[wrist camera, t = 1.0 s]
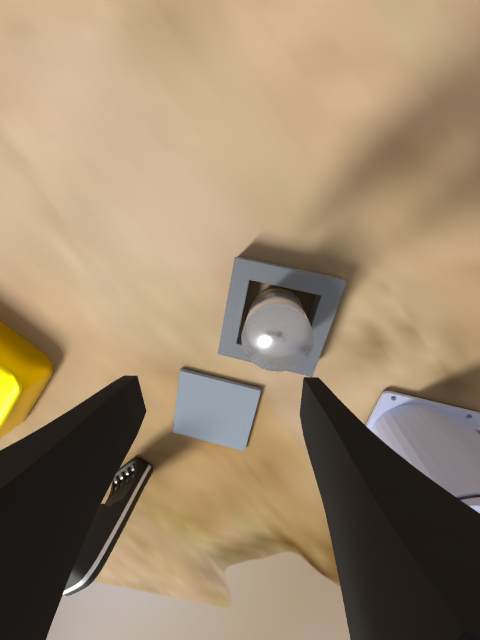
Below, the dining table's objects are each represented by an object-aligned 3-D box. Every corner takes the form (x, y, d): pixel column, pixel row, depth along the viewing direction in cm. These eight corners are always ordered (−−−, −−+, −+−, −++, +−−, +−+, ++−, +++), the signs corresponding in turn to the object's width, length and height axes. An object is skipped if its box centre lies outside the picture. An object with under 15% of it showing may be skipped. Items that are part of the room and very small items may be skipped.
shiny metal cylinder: (309, 294, 20) (323, 315, 15) (294, 343, 22) (301, 378, 16) (255, 282, 21) (249, 298, 15) (245, 331, 22) (235, 362, 17)
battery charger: (135, 449, 30) (60, 563, 20) (156, 466, 31) (95, 586, 20) (108, 470, 33) (28, 582, 22) (128, 486, 33) (60, 603, 22)
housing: (339, 277, 19) (347, 281, 17) (309, 365, 23) (312, 376, 21) (238, 255, 20) (234, 257, 18) (222, 344, 23) (217, 354, 21)
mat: (261, 388, 24) (261, 390, 24) (245, 447, 27) (244, 451, 27) (181, 368, 25) (179, 370, 24) (174, 428, 28) (173, 432, 28)
